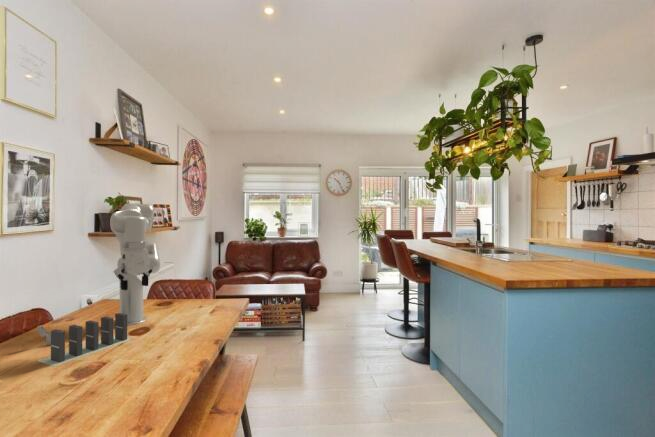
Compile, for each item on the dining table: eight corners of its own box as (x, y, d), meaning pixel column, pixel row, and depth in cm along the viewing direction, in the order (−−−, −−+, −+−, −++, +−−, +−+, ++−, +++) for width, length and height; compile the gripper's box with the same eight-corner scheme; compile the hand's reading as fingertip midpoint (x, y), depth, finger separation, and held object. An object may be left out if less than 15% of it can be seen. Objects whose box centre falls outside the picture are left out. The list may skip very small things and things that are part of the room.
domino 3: (93, 350, 120) (93, 323, 120) (85, 348, 122) (85, 321, 122) (98, 349, 122) (98, 322, 122) (90, 347, 124) (90, 320, 124)
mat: (37, 362, 112) (37, 360, 112) (116, 336, 136) (116, 335, 136) (54, 367, 108) (54, 366, 108) (132, 340, 132) (132, 338, 132)
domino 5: (123, 340, 130) (123, 315, 130) (114, 338, 132) (115, 313, 132) (127, 339, 132) (127, 314, 132) (119, 337, 134) (119, 312, 134)
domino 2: (77, 356, 115) (77, 327, 115) (68, 354, 117) (68, 326, 117) (82, 354, 117) (82, 326, 117) (73, 352, 119) (74, 324, 119)
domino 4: (109, 345, 125) (109, 319, 125) (100, 343, 127) (100, 317, 127) (113, 344, 127) (113, 318, 127) (105, 342, 129) (105, 316, 129)
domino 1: (59, 362, 110) (59, 332, 110) (50, 360, 112) (50, 330, 112) (65, 360, 112) (65, 331, 112) (56, 358, 114) (56, 329, 114)
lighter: (60, 343, 129) (60, 322, 129) (59, 344, 127) (59, 324, 127) (37, 346, 126) (37, 325, 126) (35, 347, 124) (36, 326, 124)
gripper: (120, 248, 128) (120, 292, 128) (159, 244, 144) (159, 284, 144) (108, 247, 131) (107, 291, 131) (147, 244, 147) (147, 283, 147)
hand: (134, 287), depth 138 cm, fingers open, 8 cm apart
